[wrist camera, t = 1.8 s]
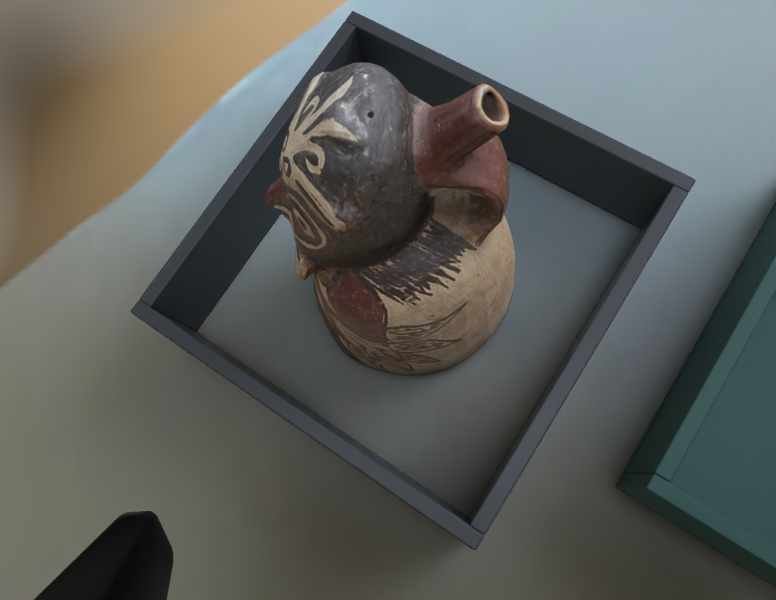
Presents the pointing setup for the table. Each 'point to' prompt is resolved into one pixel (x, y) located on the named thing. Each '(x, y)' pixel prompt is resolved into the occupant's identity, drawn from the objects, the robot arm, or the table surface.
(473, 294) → the ceramic spout vessel
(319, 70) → the grey tote
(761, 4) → the table surface
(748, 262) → the teal tote
